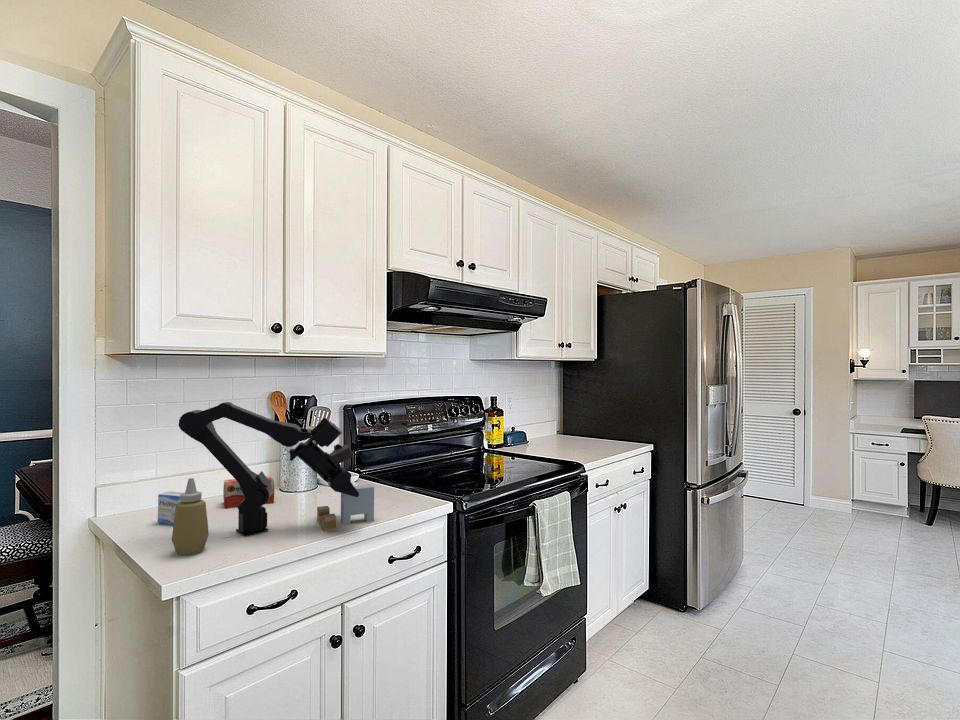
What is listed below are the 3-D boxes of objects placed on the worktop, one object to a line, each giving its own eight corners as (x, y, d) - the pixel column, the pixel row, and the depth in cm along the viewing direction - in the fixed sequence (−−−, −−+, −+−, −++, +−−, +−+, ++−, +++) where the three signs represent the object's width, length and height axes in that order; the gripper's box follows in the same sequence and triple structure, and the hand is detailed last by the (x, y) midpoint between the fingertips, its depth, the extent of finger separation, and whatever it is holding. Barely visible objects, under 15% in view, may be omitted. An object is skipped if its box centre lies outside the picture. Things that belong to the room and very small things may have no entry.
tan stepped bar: (336, 530, 144) (336, 516, 144) (325, 532, 143) (325, 517, 143) (327, 519, 155) (327, 505, 155) (317, 520, 153) (317, 507, 153)
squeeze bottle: (173, 560, 122) (173, 483, 122) (169, 550, 129) (170, 477, 129) (211, 552, 127) (212, 479, 127) (206, 543, 133) (206, 473, 133)
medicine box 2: (271, 498, 179) (271, 475, 179) (274, 503, 172) (274, 479, 172) (223, 503, 172) (223, 479, 172) (224, 509, 165) (224, 484, 165)
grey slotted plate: (343, 525, 149) (343, 490, 149) (340, 521, 152) (340, 487, 152) (373, 520, 153) (374, 487, 154) (370, 517, 157) (370, 484, 157)
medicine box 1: (156, 524, 149) (157, 494, 149) (169, 519, 153) (169, 490, 153) (179, 526, 147) (180, 496, 147) (191, 522, 151) (192, 492, 152)
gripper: (343, 441, 142) (382, 477, 147) (329, 433, 158) (365, 465, 163) (313, 472, 138) (354, 508, 143) (302, 461, 155) (340, 493, 160)
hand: (354, 492), depth 152 cm, fingers open, 9 cm apart
